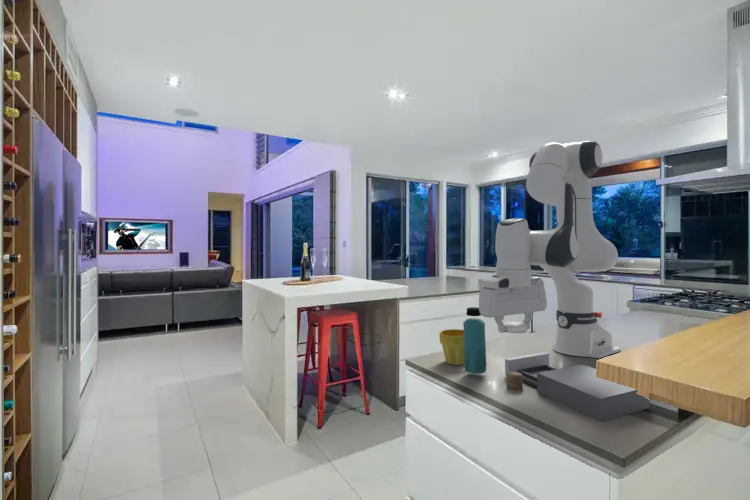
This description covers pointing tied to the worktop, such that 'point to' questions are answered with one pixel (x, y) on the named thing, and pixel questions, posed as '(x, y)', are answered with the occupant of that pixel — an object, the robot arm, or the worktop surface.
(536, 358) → the tray
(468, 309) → the beverage bottle
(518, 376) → the disc stand
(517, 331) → the disc
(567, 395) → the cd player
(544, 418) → the worktop surface
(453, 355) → the plant pot
